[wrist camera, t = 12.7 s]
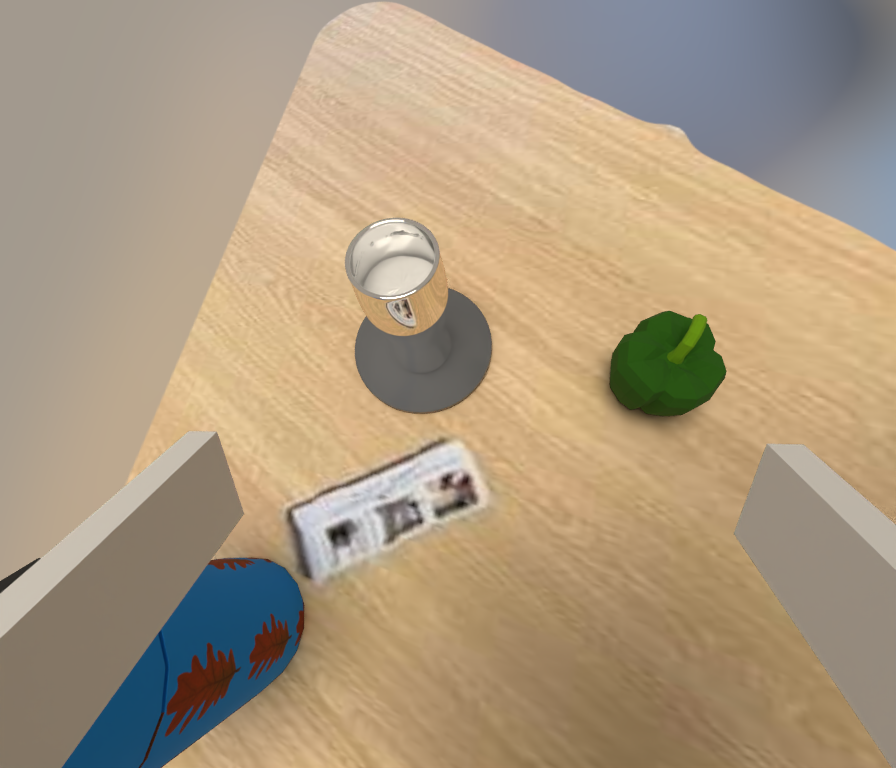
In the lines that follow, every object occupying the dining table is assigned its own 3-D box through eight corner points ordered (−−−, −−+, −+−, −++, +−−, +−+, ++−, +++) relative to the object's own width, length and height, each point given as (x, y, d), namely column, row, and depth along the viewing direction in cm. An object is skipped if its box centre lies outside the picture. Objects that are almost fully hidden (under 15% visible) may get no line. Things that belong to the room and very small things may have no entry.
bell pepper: (644, 445, 39) (696, 420, 29) (580, 381, 41) (610, 338, 32) (707, 390, 40) (777, 348, 30) (642, 330, 42) (688, 274, 33)
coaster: (446, 267, 46) (446, 262, 46) (518, 367, 42) (518, 364, 41) (334, 330, 45) (332, 326, 44) (397, 440, 41) (395, 438, 40)
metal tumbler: (435, 389, 41) (411, 318, 27) (375, 360, 43) (322, 278, 28) (468, 331, 43) (460, 235, 29) (409, 305, 44) (374, 201, 30)
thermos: (316, 560, 38) (39, 620, 14) (294, 701, 34) (-116, 1092, 11) (202, 551, 39) (-235, 593, 15) (170, 687, 35) (-454, 1015, 12)
